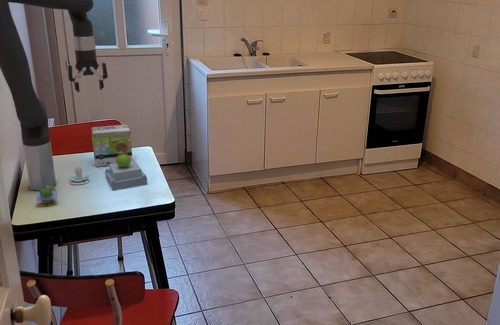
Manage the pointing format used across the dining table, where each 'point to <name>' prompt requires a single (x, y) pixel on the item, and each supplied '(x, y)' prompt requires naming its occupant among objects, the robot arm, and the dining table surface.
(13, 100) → the robot arm
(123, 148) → the snail figurine
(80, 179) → the pacifier
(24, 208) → the dining table surface
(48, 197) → the geometric puzzle
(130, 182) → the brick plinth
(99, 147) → the tea box
